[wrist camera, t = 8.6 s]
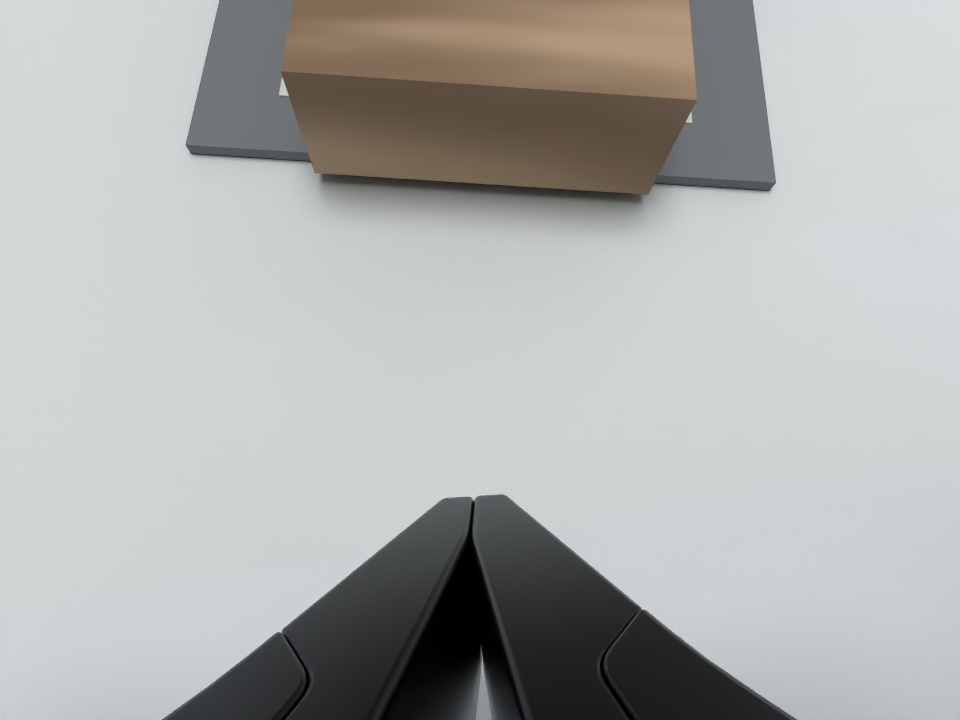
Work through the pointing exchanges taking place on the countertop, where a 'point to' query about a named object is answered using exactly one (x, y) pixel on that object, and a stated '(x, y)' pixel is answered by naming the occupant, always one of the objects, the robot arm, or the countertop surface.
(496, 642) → the robot arm
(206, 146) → the mat
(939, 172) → the countertop surface
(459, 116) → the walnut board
